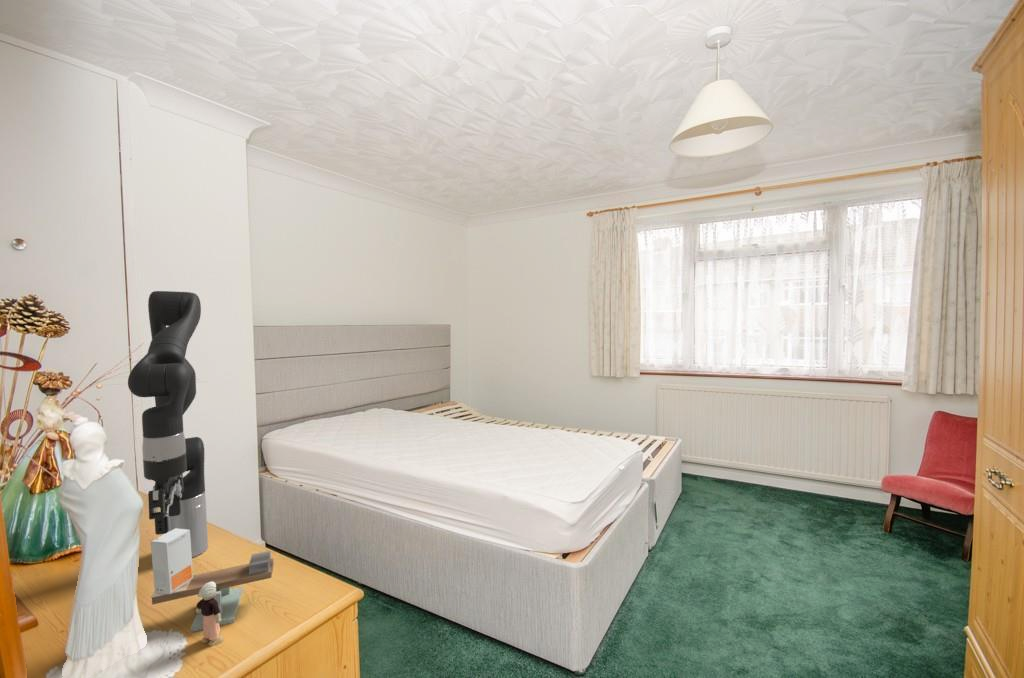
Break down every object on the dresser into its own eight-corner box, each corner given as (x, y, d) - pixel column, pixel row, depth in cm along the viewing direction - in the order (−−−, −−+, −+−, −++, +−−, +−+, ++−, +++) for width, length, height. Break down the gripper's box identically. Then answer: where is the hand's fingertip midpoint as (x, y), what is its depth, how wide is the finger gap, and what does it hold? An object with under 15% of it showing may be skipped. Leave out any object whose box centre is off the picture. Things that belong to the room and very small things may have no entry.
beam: (162, 592, 104) (160, 570, 103) (274, 567, 112) (273, 547, 112) (150, 612, 97) (148, 589, 96) (271, 585, 105) (269, 563, 105)
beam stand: (205, 598, 109) (203, 571, 108) (242, 590, 112) (241, 564, 111) (191, 632, 98) (189, 601, 97) (233, 622, 101) (232, 593, 100)
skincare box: (170, 595, 98) (165, 543, 97) (154, 593, 99) (149, 541, 98) (194, 578, 104) (190, 529, 103) (179, 576, 105) (175, 527, 103)
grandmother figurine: (233, 635, 97) (230, 580, 96) (218, 649, 93) (215, 591, 92) (204, 629, 99) (201, 575, 98) (188, 642, 95) (185, 585, 94)
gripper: (155, 445, 104) (159, 512, 105) (130, 467, 90) (135, 543, 92) (194, 442, 106) (197, 507, 108) (175, 462, 93) (179, 536, 95)
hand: (168, 524), depth 100 cm, fingers open, 8 cm apart
